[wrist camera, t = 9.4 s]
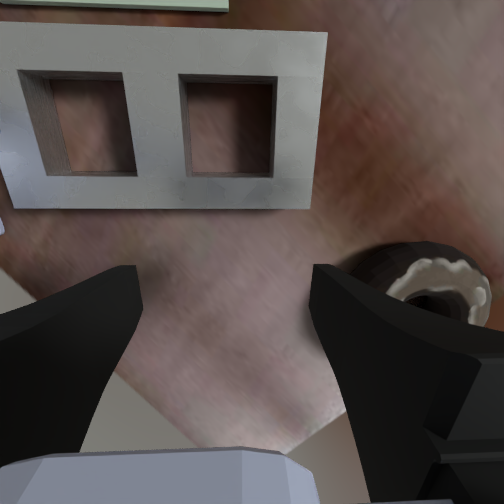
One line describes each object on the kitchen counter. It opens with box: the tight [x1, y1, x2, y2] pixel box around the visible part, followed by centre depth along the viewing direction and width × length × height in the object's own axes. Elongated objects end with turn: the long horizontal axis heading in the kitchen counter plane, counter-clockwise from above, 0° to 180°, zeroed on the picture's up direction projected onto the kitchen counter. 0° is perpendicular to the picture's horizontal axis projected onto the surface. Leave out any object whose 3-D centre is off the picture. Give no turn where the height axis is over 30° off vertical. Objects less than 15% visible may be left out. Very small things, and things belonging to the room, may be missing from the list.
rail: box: [0, 22, 328, 209], centre depth 16 cm, size 18×9×2 cm, turn 89°
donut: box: [350, 241, 491, 327], centre depth 21 cm, size 12×12×4 cm
